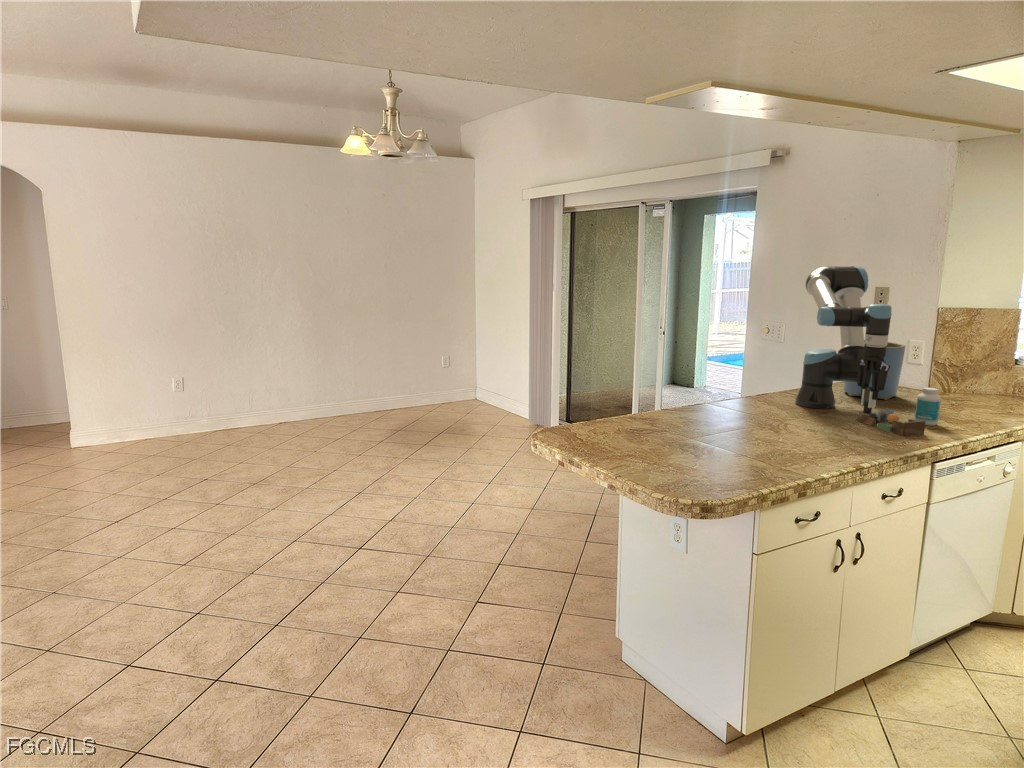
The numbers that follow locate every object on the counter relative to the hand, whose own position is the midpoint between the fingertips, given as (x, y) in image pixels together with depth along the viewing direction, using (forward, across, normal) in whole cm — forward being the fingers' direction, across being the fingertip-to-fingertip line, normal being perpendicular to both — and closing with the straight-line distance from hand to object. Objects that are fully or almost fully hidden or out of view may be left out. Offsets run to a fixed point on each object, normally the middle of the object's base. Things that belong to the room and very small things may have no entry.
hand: (868, 406), depth 239 cm
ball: (+2, +12, 0) cm, 12 cm away
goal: (+6, +18, 0) cm, 19 cm away
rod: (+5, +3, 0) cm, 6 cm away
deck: (+6, +13, 0) cm, 14 cm away
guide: (+6, +2, 0) cm, 6 cm away
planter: (+6, -36, +36) cm, 51 cm away
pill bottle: (+6, +10, +18) cm, 21 cm away
